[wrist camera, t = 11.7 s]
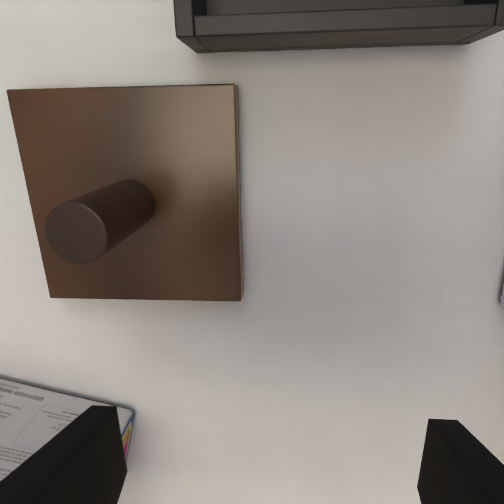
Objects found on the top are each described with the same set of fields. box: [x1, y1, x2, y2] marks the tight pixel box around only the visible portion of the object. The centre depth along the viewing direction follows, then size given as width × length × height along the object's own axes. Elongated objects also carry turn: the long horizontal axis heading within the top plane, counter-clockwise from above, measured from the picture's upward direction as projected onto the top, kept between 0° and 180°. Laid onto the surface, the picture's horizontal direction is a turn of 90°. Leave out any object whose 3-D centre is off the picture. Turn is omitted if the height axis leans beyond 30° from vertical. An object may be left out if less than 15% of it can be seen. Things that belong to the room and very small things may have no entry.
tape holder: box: [7, 84, 243, 301], centre depth 14 cm, size 9×9×6 cm
